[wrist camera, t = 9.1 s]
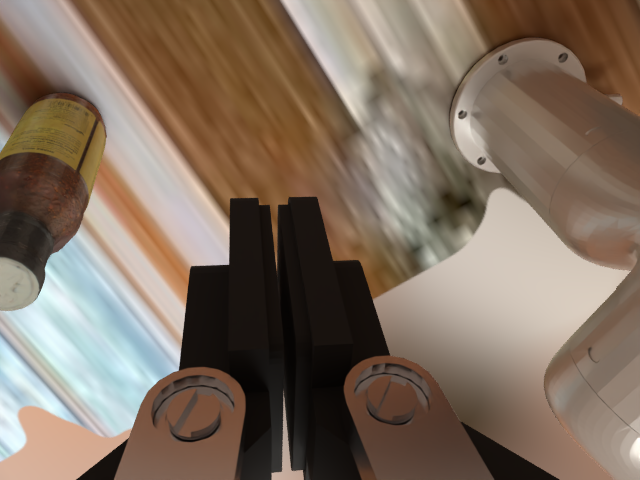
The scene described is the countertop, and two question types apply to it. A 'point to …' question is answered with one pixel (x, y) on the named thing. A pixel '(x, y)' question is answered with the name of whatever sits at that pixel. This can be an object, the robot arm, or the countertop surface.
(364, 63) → the countertop surface
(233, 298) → the robot arm
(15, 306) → the sauce bottle
